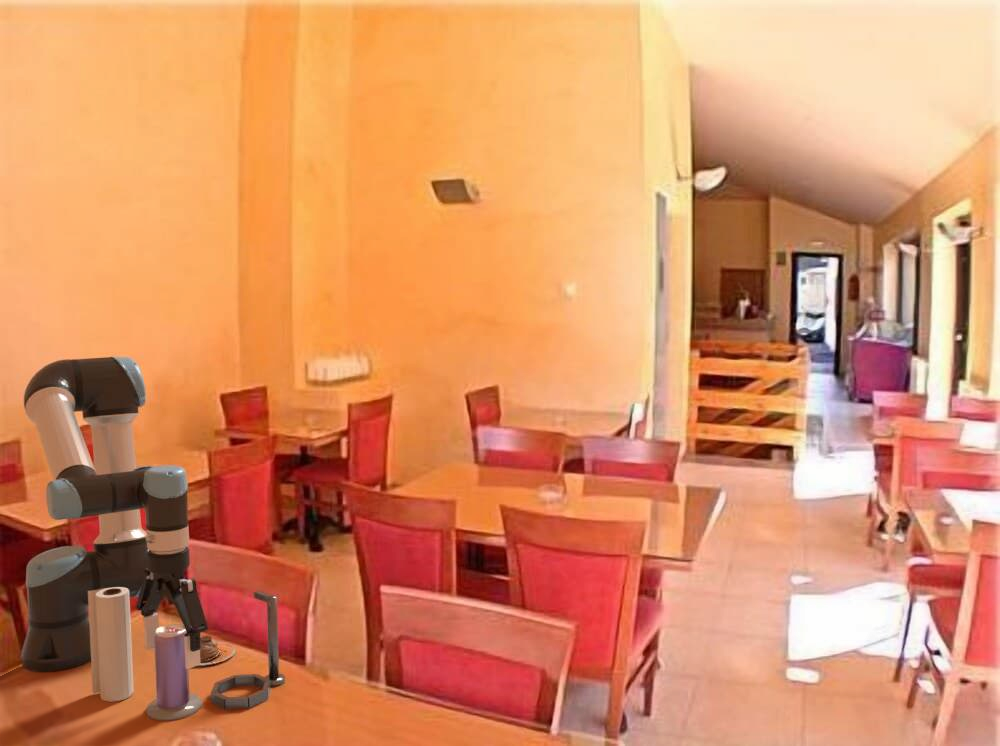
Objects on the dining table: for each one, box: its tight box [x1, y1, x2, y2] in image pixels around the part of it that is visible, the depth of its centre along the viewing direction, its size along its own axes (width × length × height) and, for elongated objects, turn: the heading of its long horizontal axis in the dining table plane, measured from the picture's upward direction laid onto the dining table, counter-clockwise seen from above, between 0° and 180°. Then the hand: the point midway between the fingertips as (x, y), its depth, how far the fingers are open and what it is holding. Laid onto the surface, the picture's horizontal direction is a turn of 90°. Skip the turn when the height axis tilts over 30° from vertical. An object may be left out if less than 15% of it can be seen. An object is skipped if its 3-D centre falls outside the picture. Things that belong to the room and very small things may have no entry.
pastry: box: [196, 635, 236, 668], centre depth 199 cm, size 12×12×5 cm
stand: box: [210, 590, 286, 710], centre depth 181 cm, size 11×16×18 cm
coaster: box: [145, 693, 203, 721], centre depth 175 cm, size 10×10×1 cm
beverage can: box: [154, 623, 191, 711], centre depth 174 cm, size 6×6×15 cm
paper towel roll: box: [88, 587, 134, 703], centre depth 179 cm, size 7×6×21 cm
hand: (172, 657), depth 174 cm, fingers open, 13 cm apart
